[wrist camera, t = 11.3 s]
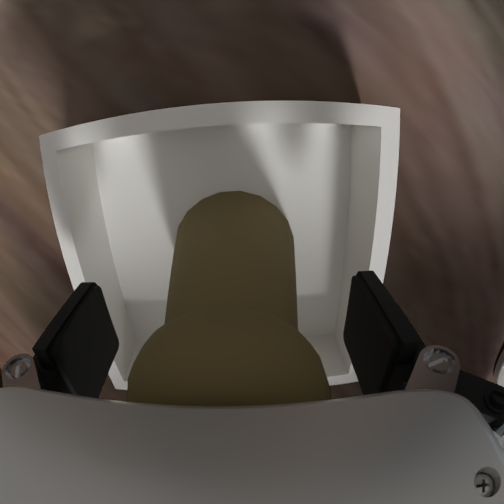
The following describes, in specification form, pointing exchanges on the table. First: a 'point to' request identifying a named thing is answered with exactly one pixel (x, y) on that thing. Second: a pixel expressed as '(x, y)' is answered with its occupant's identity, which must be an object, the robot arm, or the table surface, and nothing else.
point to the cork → (230, 314)
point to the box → (223, 180)
